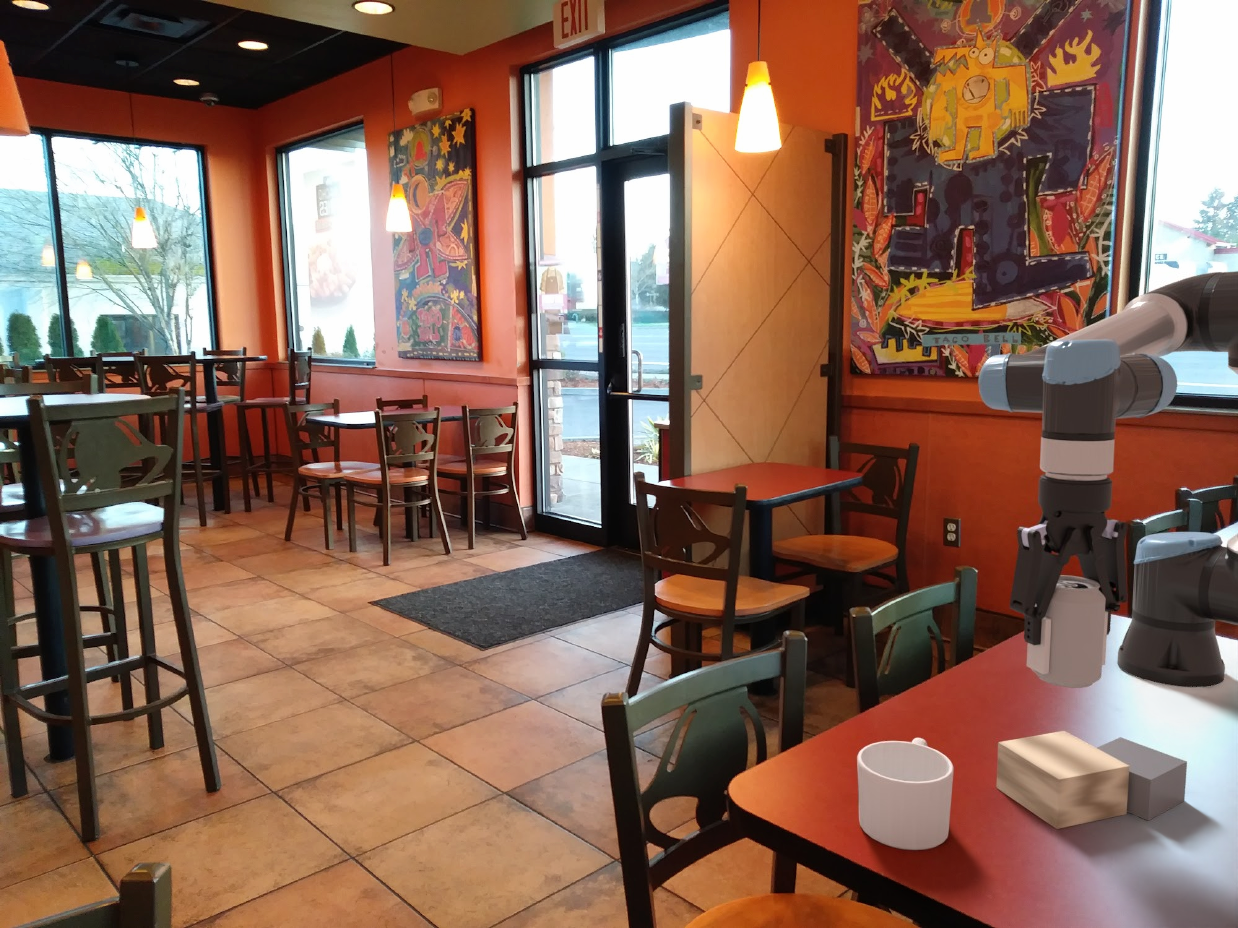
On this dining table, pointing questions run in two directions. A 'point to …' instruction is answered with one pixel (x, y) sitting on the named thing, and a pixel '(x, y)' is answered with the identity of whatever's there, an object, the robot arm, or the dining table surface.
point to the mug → (904, 794)
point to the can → (1075, 633)
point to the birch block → (1062, 779)
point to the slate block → (1149, 777)
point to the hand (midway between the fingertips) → (1065, 665)
